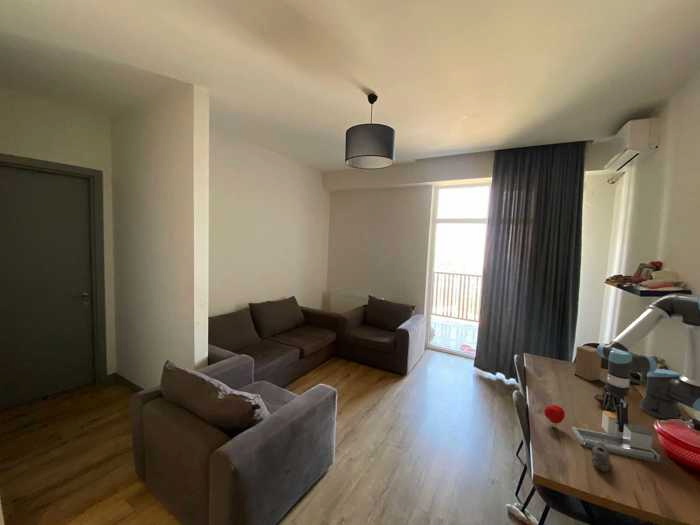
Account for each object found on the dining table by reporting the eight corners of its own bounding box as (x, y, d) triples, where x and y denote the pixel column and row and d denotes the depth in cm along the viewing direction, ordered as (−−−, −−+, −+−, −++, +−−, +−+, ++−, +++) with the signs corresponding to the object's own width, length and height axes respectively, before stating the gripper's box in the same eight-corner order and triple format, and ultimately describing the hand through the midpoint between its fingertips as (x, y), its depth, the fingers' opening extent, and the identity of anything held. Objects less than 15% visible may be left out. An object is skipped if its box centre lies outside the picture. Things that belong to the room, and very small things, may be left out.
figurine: (593, 406, 155) (594, 384, 154) (593, 400, 161) (595, 380, 160) (617, 413, 148) (619, 391, 148) (617, 407, 154) (619, 386, 154)
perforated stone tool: (592, 449, 121) (593, 434, 120) (608, 456, 117) (610, 440, 117) (590, 469, 110) (591, 452, 109) (608, 477, 106) (610, 459, 106)
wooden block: (573, 374, 194) (576, 346, 193) (584, 373, 197) (586, 345, 196) (589, 381, 185) (592, 351, 183) (600, 380, 188) (603, 350, 186)
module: (619, 430, 135) (621, 413, 134) (626, 437, 130) (628, 420, 129) (601, 426, 137) (602, 410, 137) (607, 433, 132) (608, 416, 132)
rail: (643, 446, 124) (645, 424, 123) (659, 462, 114) (661, 439, 114) (571, 431, 132) (573, 411, 132) (581, 445, 123) (582, 423, 122)
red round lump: (552, 433, 131) (554, 412, 130) (538, 423, 138) (540, 403, 137) (568, 430, 133) (569, 409, 133) (553, 421, 140) (555, 401, 140)
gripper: (596, 373, 144) (592, 416, 145) (620, 393, 123) (615, 443, 125) (615, 376, 141) (611, 420, 142) (642, 397, 121) (637, 448, 122)
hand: (613, 431), depth 133 cm, fingers open, 9 cm apart
